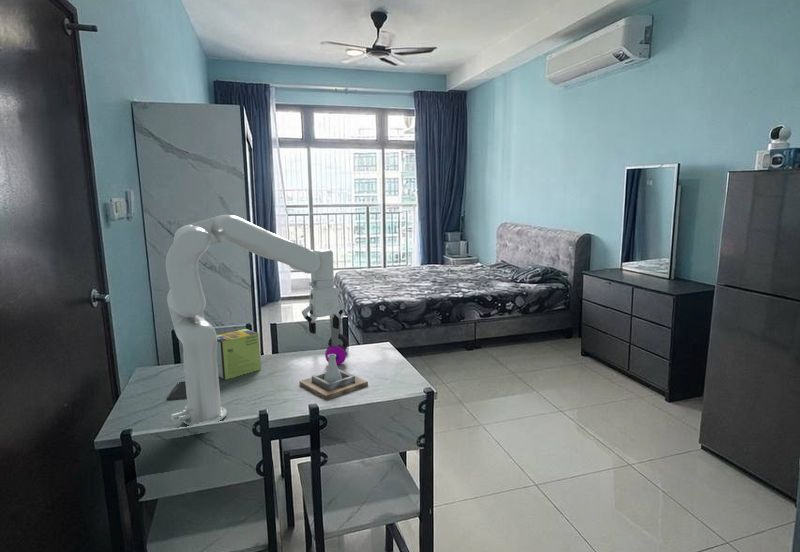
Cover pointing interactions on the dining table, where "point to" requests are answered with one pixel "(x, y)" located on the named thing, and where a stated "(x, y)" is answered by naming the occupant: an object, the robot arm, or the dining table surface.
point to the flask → (332, 370)
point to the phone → (178, 391)
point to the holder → (333, 384)
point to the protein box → (238, 353)
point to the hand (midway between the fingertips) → (324, 330)
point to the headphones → (337, 343)
